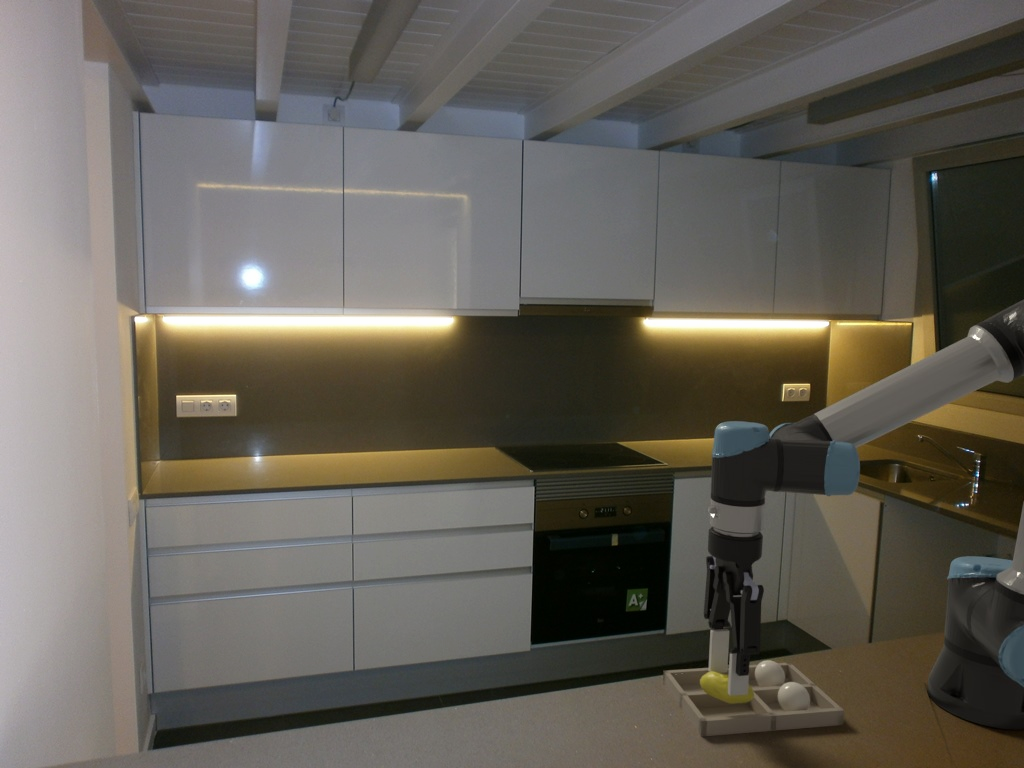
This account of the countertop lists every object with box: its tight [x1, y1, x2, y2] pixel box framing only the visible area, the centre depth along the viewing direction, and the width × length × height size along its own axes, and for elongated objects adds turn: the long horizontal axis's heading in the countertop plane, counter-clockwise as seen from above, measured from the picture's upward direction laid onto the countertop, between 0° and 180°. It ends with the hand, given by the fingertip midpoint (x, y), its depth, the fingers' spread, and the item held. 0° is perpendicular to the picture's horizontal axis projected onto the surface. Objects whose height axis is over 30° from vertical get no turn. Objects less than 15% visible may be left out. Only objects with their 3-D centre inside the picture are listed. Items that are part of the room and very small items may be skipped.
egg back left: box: [778, 682, 810, 712], centre depth 113 cm, size 5×5×5 cm
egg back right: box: [755, 659, 785, 687], centre depth 120 cm, size 5×5×5 cm
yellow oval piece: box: [700, 671, 754, 704], centre depth 111 cm, size 4×8×4 cm, turn 51°
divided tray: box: [662, 662, 845, 737], centre depth 115 cm, size 22×15×3 cm
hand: (727, 682), depth 111 cm, fingers closed on yellow oval piece, 6 cm apart
